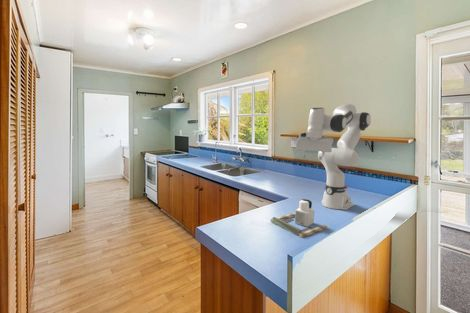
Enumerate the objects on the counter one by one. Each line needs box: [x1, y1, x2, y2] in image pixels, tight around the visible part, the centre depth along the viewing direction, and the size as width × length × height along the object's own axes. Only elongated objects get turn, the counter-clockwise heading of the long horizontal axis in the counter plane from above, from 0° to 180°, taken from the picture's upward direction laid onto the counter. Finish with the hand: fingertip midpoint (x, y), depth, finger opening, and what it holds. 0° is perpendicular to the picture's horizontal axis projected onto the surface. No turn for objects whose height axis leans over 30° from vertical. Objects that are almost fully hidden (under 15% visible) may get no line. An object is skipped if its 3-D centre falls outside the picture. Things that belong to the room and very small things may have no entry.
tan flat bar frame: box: [270, 211, 328, 238], centre depth 132 cm, size 20×22×3 cm
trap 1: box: [282, 217, 295, 223], centre depth 136 cm, size 10×3×1 cm, turn 124°
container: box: [294, 198, 315, 228], centre depth 134 cm, size 8×8×13 cm
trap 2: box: [301, 226, 314, 233], centre depth 125 cm, size 10×3×1 cm, turn 124°
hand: (312, 158), depth 143 cm, fingers open, 8 cm apart
